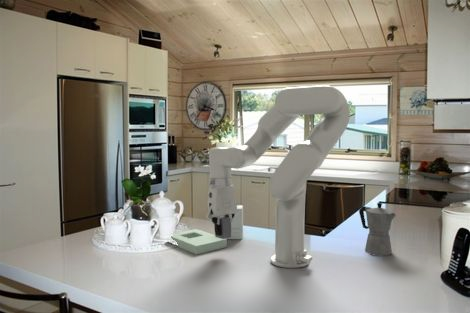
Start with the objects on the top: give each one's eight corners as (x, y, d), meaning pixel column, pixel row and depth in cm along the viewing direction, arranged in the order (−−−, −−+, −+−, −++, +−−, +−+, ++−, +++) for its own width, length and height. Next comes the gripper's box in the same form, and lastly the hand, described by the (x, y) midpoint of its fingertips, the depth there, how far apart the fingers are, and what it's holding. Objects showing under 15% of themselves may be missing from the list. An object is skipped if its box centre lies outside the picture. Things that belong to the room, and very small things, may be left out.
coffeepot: (402, 254, 146) (404, 204, 145) (385, 259, 141) (387, 207, 140) (366, 244, 159) (368, 197, 158) (350, 248, 154) (351, 200, 152)
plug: (231, 237, 145) (230, 217, 145) (223, 239, 143) (222, 219, 143) (223, 234, 149) (222, 215, 148) (215, 236, 147) (214, 217, 146)
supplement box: (243, 234, 172) (243, 205, 172) (242, 239, 165) (242, 208, 164) (226, 234, 173) (225, 204, 172) (223, 239, 166) (223, 208, 165)
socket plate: (226, 246, 155) (226, 239, 155) (196, 254, 146) (196, 246, 146) (196, 236, 170) (196, 228, 170) (166, 242, 161) (166, 234, 161)
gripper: (208, 185, 137) (210, 240, 138) (245, 180, 147) (247, 231, 148) (195, 184, 142) (197, 236, 144) (232, 179, 153) (234, 228, 154)
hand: (223, 233), depth 146 cm, fingers closed on plug, 3 cm apart
